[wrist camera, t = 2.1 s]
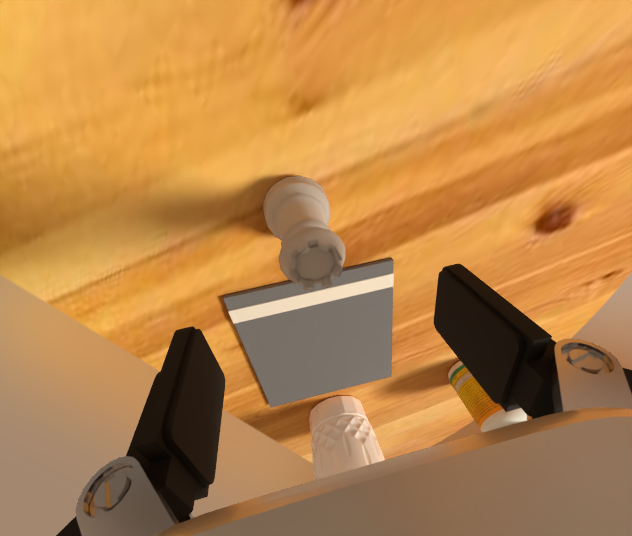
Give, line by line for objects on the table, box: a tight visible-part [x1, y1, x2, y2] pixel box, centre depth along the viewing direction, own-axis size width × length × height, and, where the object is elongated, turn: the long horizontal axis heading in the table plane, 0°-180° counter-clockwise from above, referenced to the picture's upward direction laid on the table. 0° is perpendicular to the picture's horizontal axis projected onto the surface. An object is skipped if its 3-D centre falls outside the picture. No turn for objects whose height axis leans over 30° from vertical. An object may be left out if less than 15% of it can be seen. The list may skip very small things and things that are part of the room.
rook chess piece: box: [263, 176, 345, 291], centre depth 16 cm, size 4×4×8 cm
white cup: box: [309, 396, 385, 480], centre depth 30 cm, size 8×8×10 cm
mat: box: [223, 258, 394, 407], centre depth 27 cm, size 16×14×1 cm
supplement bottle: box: [448, 360, 527, 432], centre depth 30 cm, size 5×5×10 cm
